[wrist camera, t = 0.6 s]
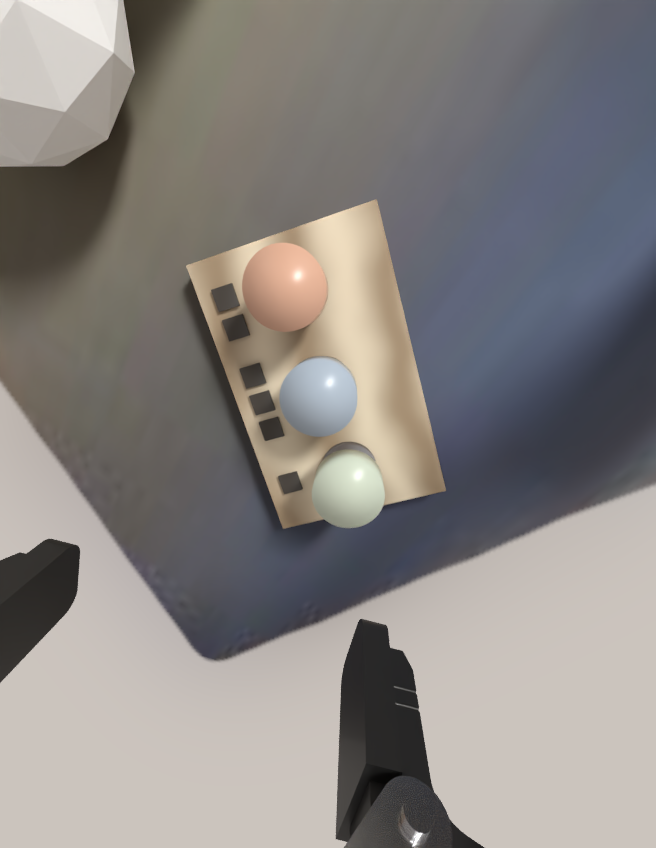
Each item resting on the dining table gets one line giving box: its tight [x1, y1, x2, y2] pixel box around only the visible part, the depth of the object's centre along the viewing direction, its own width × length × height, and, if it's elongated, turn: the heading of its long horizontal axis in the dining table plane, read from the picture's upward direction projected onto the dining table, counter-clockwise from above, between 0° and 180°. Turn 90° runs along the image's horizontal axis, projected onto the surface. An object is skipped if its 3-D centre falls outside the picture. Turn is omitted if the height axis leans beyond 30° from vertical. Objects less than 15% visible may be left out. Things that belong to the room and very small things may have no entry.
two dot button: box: [242, 243, 328, 332], centre depth 24 cm, size 5×5×2 cm
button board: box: [186, 199, 446, 529], centre depth 30 cm, size 14×22×3 cm, turn 17°
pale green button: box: [312, 449, 385, 528], centre depth 28 cm, size 5×5×2 cm
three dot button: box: [279, 356, 357, 437], centre depth 26 cm, size 5×5×2 cm
